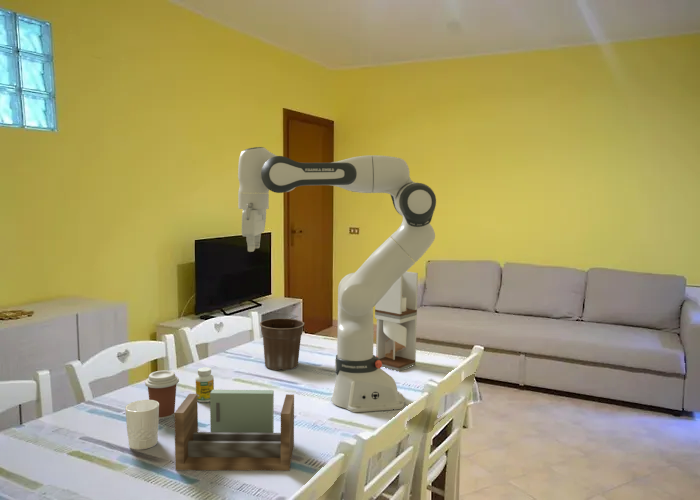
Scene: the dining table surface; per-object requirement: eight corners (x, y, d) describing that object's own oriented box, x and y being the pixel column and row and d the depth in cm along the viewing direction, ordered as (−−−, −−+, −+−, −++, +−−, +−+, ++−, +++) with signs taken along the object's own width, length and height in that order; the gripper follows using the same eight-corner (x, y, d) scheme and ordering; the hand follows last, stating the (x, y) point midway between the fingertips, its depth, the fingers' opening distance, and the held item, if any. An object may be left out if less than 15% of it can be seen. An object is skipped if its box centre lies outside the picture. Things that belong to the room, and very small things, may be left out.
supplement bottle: (210, 395, 170) (210, 365, 169) (216, 400, 166) (216, 370, 165) (193, 398, 167) (193, 368, 166) (199, 404, 163) (198, 373, 162)
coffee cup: (141, 413, 156) (140, 372, 154) (173, 406, 161) (172, 367, 160) (151, 424, 148) (150, 381, 147) (184, 416, 154) (183, 375, 152)
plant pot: (312, 363, 204) (313, 321, 202) (286, 375, 190) (286, 330, 188) (278, 356, 212) (278, 316, 210) (250, 367, 198) (250, 324, 197)
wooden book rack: (293, 446, 136) (294, 394, 135) (289, 470, 124) (289, 413, 123) (190, 445, 136) (189, 393, 135) (175, 469, 124) (174, 412, 123)
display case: (374, 364, 203) (375, 272, 200) (391, 358, 211) (393, 269, 208) (398, 371, 196) (401, 275, 192) (415, 365, 204) (417, 272, 200)
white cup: (132, 437, 140) (131, 399, 139) (163, 436, 141) (162, 399, 140) (122, 451, 132) (120, 412, 131) (155, 450, 133) (154, 411, 132)
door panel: (273, 434, 143) (273, 390, 142) (272, 438, 141) (272, 394, 140) (212, 433, 143) (212, 389, 142) (210, 438, 140) (209, 393, 139)
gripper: (258, 203, 150) (259, 253, 151) (268, 202, 170) (269, 246, 171) (235, 203, 149) (236, 253, 151) (248, 202, 170) (249, 246, 171)
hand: (253, 249), depth 161 cm, fingers open, 8 cm apart
